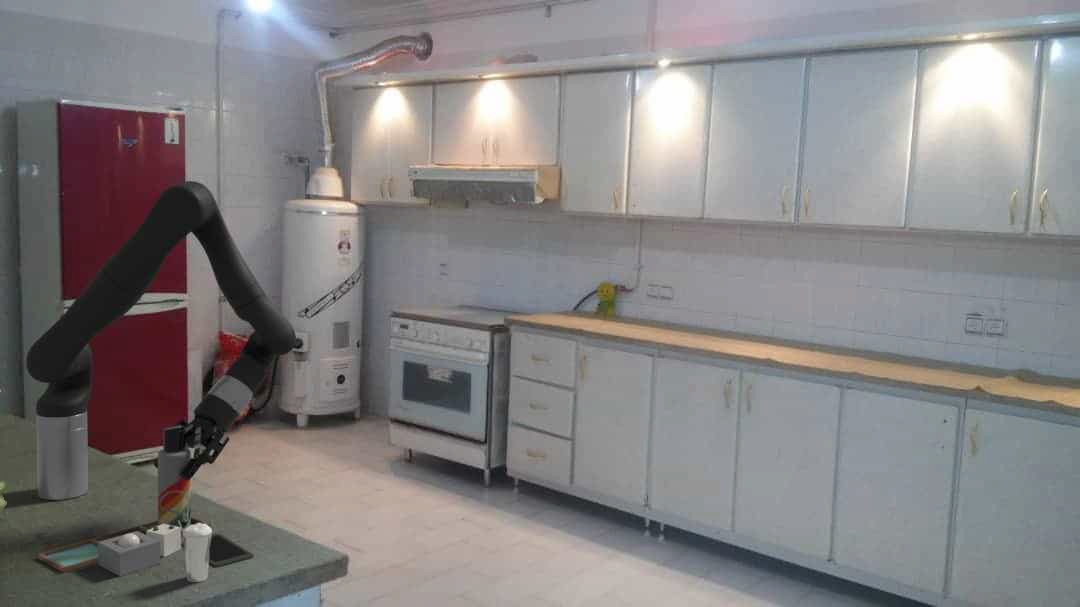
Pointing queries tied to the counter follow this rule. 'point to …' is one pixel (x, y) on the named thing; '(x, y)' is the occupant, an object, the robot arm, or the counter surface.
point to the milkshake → (197, 551)
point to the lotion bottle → (173, 479)
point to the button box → (128, 554)
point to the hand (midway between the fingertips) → (170, 473)
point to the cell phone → (226, 551)
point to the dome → (128, 540)
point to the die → (166, 538)
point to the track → (90, 549)
